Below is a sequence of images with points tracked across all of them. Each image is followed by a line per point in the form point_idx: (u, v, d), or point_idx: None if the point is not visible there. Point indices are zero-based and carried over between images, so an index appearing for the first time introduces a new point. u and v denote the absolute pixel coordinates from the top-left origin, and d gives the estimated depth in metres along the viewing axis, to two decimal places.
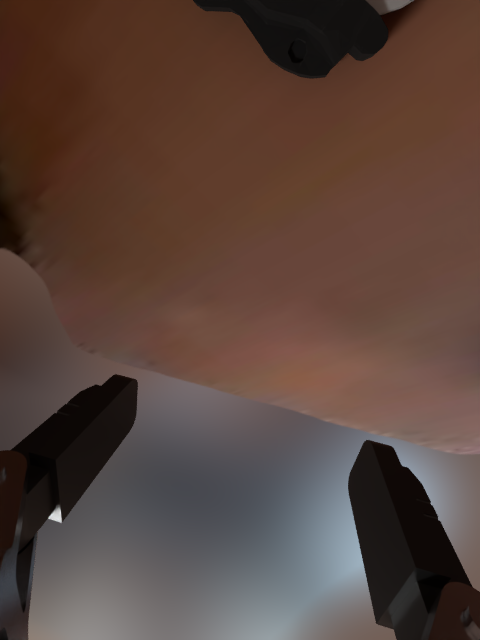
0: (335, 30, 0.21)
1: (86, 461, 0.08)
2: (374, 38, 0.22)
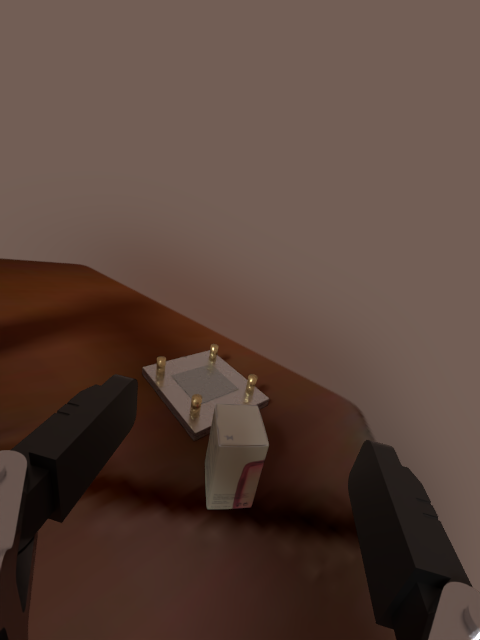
0: None
1: (86, 461, 0.08)
2: None
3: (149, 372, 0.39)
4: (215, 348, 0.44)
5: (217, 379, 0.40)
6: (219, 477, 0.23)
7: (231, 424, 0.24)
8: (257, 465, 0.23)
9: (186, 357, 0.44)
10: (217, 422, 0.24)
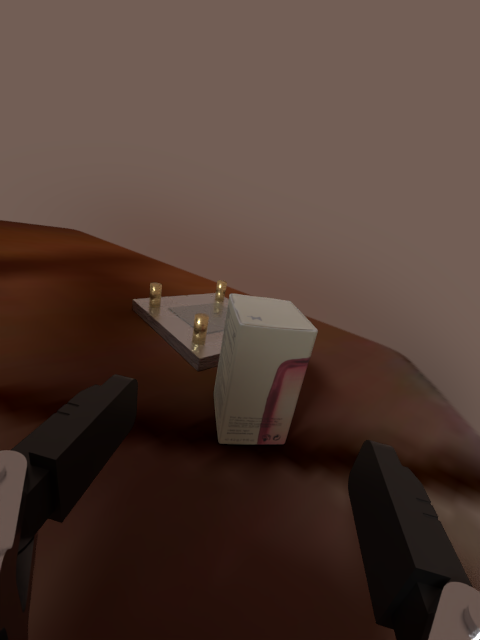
0: None
1: (86, 461, 0.08)
2: None
3: (140, 303, 0.31)
4: (223, 283, 0.36)
5: None
6: (238, 385, 0.15)
7: (256, 308, 0.16)
8: (298, 367, 0.15)
9: (187, 296, 0.36)
10: (235, 305, 0.16)
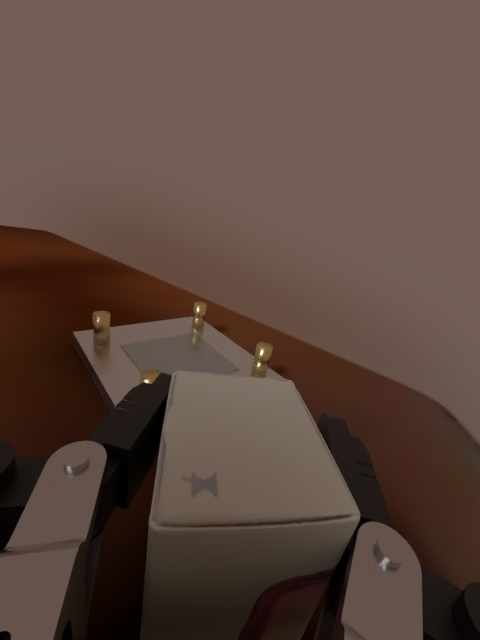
0: None
1: (146, 453, 0.08)
2: None
3: (82, 339, 0.22)
4: (202, 307, 0.27)
5: (203, 353, 0.23)
6: (163, 633, 0.06)
7: (214, 431, 0.07)
8: (308, 586, 0.06)
9: (155, 322, 0.27)
10: (167, 423, 0.07)
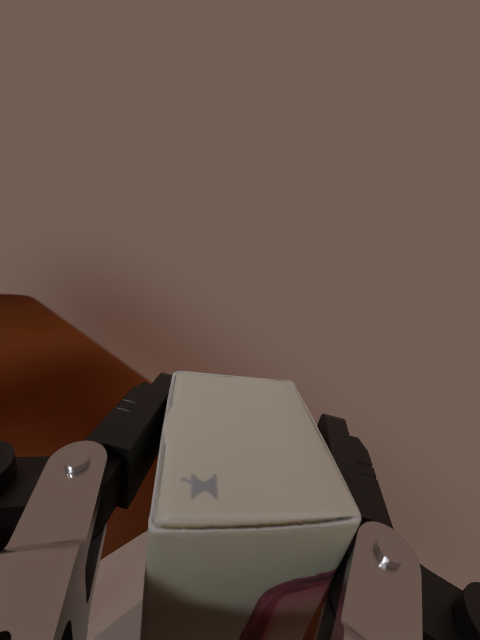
0: None
1: (146, 453, 0.08)
2: None
3: None
4: None
5: None
6: (163, 634, 0.06)
7: (215, 433, 0.07)
8: (308, 588, 0.06)
9: (145, 536, 0.21)
10: (167, 424, 0.07)
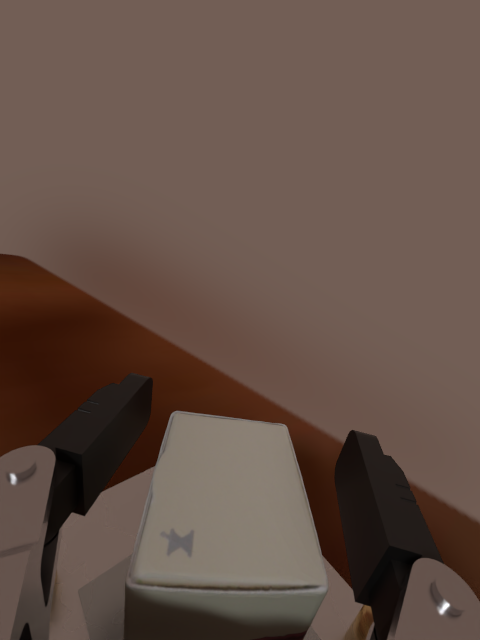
0: None
1: (107, 457, 0.08)
2: None
3: None
4: None
5: None
6: None
7: (199, 483, 0.07)
8: None
9: (150, 474, 0.16)
10: (157, 471, 0.08)
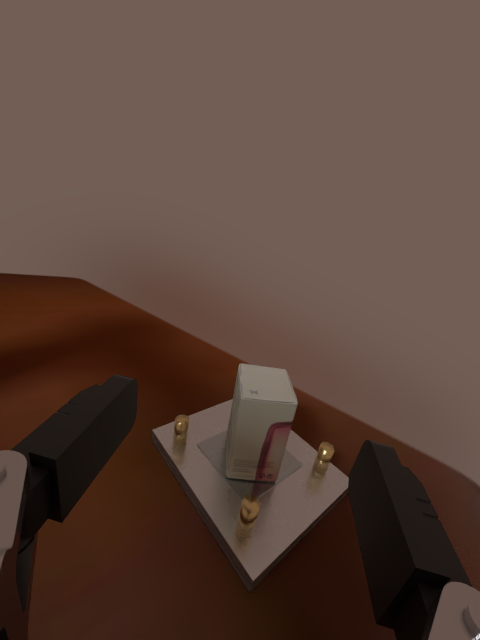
0: None
1: (86, 461, 0.08)
2: None
3: (163, 439, 0.25)
4: None
5: None
6: (240, 437, 0.21)
7: (256, 381, 0.22)
8: (284, 427, 0.21)
9: (215, 408, 0.30)
10: (241, 378, 0.22)
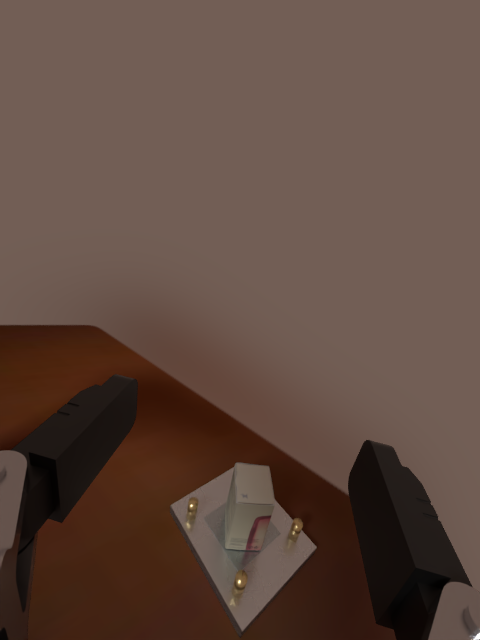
0: None
1: (86, 461, 0.08)
2: None
3: (178, 514, 0.34)
4: None
5: None
6: (235, 525, 0.30)
7: (246, 484, 0.31)
8: (265, 519, 0.30)
9: (216, 480, 0.40)
10: (236, 481, 0.31)
